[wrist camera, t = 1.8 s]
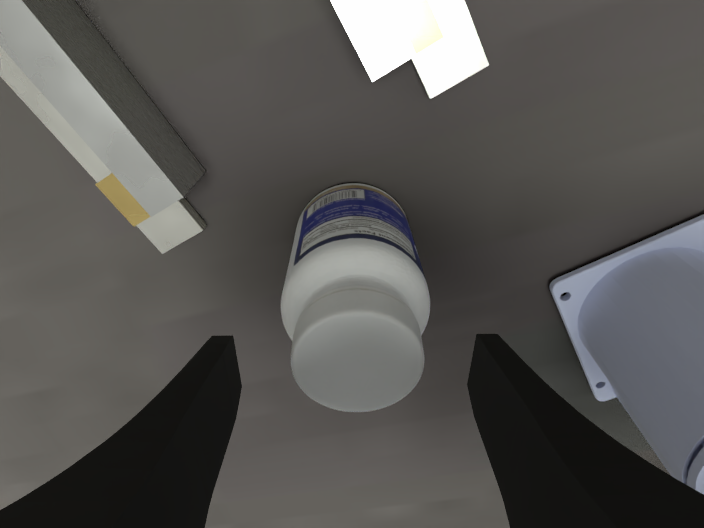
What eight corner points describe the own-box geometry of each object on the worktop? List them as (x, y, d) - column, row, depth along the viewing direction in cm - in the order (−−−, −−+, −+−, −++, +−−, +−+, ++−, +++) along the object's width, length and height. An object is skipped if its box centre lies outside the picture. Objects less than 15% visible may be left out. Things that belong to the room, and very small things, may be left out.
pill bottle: (386, 292, 22) (406, 442, 15) (285, 265, 21) (250, 409, 14) (427, 199, 20) (478, 321, 12) (314, 163, 19) (292, 271, 11)
